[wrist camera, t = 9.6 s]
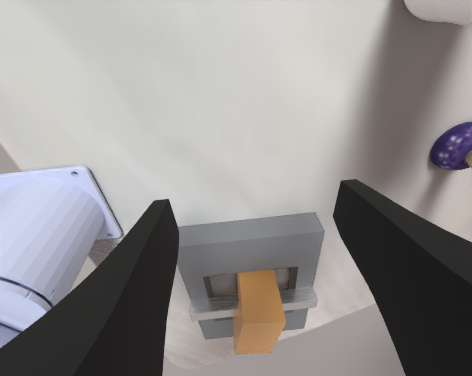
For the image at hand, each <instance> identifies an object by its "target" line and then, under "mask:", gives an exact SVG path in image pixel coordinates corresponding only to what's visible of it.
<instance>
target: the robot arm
mask: <svg viewBox="0 0 472 376" xmlns="http://www.w3.org/2000/svg"><path fill="white" fill-rule="evenodd" d="M73 171H74V172H77V173H78V174H75V173H74V172H73ZM333 218H334V221H335V224H336V226H337V229H338V231H339V234H340V236H341V238H342V240H343V242H344V244H345V246H346V247H347V249H348V251H349V253H350V255H351V256H352V258H353V260H354V262H355V263H356V265H357V267H358V269H359V270H360V272H361V274H362V276H363V277H364V279H365V281H366V283H367V285H368V287H369V288H370V290H371V292H372V294H373V296H374V299H375V301H376V303H377V305H378V308H379V310H380V312H381V314H382V316H383V319H384V321H385V324H386V326H387V329H388V331H389V334H390V336H391V338H392V341H393V343H394V346H395V348H396V351H397V354H398V356H399V359H400V361H401V364H402V367H403V370H404V372H405V375H406V376H472V242H470V241H468V240H465V239H463V238H461V237H459V236H457V235H455V234H452V233H450V232H448V231H446V230H444V229H442V228H440V227H438V226H436V225H434V224H433V223H431V222H429V221H427V220H425V219H423V218H421V217H419V216H418V215H416V214H414V213H412V212H410V211H409V210H407V209H405V208H404V207H402V206H400V205H398V204H397V203H395V202H393V201H392V200H390V199H388V198H387V197H385V196H383V195H382V194H380V193H378V192H377V191H375V190H374V189H372V188H370V187H369V186H367V185H365V184H363V183H362V182H360V181H358V180H356V179H353V180H343V181H341V183H340V187H339V191H338V196H337V200H336V205H335V209H334V213H333ZM110 233H111V234H110ZM121 234H122V231H121V229H120V227H119V226H118V224H117V222H116V220H115V218H114V216H113V214H112V212H111V210H110V209H109V207H108V205H107V203H106V201H105V199H104V197H103V195H102V193H101V192H100V190H99V188H98V186H97V184H96V182H95V180H94V178H93V176H92V175H91V173H90V171H89V169H88V168H86V167H84V166H74V167H64V168H54V169H45V170H35V171H25V172H16V173H6V174H0V376H162V372H163V358H164V345H165V333H166V322H167V314H168V307H169V302H170V297H171V291H172V286H173V281H174V275H175V270H176V265H177V259H178V251H179V230H178V227H177V223H176V220H175V217H174V214H173V211H172V208H171V205H170V202H169V199H164V200H155V201H153V202H152V204H151V205H150V206H149V207H148V209H147V210H146V211H145V212H144V214H143V215H142V216H141V217H140V219H139V220H138V221H137V223H136V224H135V225H134V226H133V227H132V229H131V230H130V231H129V232H128V234H127V235H126V236H125V237H124V238H123V240H122V241H121V242H120V243H119V244H118V245H117V246H116V247H115V249H114V250H113V251H112V252H111V253H110V254H109V255H108V256H107V257H106V259H105V260H104V261H103V262H102V263H101V264H100V265H99V266H98V267H97V268H96V269H95V270H94V271H93V272H92V273H91V274H90V275H89V276H88V277H87V278H86V279H84V280H83V281H82V282H81V283H80V284H79V285H78V286H77V287H76V288H75V289H74V290H72V291H71V292H70V293H69V291H70V289H71V287H72V285H73V283H74V281H75V279H76V277H77V275H78V273H79V271H80V269H81V267H82V265H83V263H84V261H85V259H86V258H87V256H88V254H89V252H90V250H91V248H92V246H93V244H94V242H95V240H102V239H111V238H119V237H120V236H121ZM68 293H69V294H68Z"/></svg>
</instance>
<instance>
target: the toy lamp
mask: <svg viewBox="0 0 472 376" xmlns="http://www.w3.org/2000/svg"><path fill="white" fill-rule="evenodd" d="M431 161H432V162H433V163H434V164H435V165H437V166H438V167H441V168H444V169H448V170H462V169H466V168H469V167H471V168H472V122H466V123H463V124H459V125H457V126H455V127H453V128H452V129H450V130H449V131H447V132H446V133H445V134H444V135H442V136H441V137H440V138H439V139H438V140H437V142H436V143H435V145H434V147H433V148H432V152H431Z"/></svg>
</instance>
